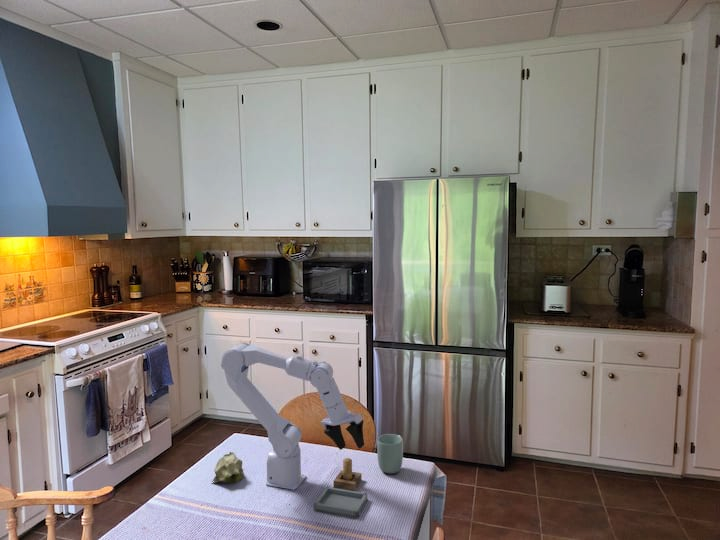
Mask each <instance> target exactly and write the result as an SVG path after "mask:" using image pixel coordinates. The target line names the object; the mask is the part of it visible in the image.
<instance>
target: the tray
mask: <svg viewBox="0 0 720 540" xmlns="http://www.w3.org/2000/svg"><path fill="white" fill-rule="evenodd" d="M367 501H368V493H366V492H362V491H356V490H355V491H353V490H346V489H340V488H334V487H329V486H326V487H325V488H324V490H323V491H322V492H321V494H320V495H319V496H318V498H317V499H316V501H315V502H314V503H313V511H315V512H319V513H325V514H331V515H336V516H342V517H347V518H353V519H358V518H359V516H360V515H361V513H362V511H363V509H364V507H365V505H366V503H367Z"/></svg>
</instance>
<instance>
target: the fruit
mask: <svg viewBox="0 0 720 540" xmlns="http://www.w3.org/2000/svg"><path fill="white" fill-rule="evenodd" d="M214 474H215V476H214V478H213V480H212V481H211V482H213V481H214V483H213V484H215V483H218V482H224V483H227V484H228V483H230V484H231V483H232V484H233V483H234V484H236V483H239V482H240V481H242V480H243V479H244V477H245V473H244V469H243V460H241V459H239V458H238V457H237V456H236V454H235V452H231V451H229V453H228V454H223V457H221V458H220V459H219V460H218V461H217V463H216V465H215V467H214Z"/></svg>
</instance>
